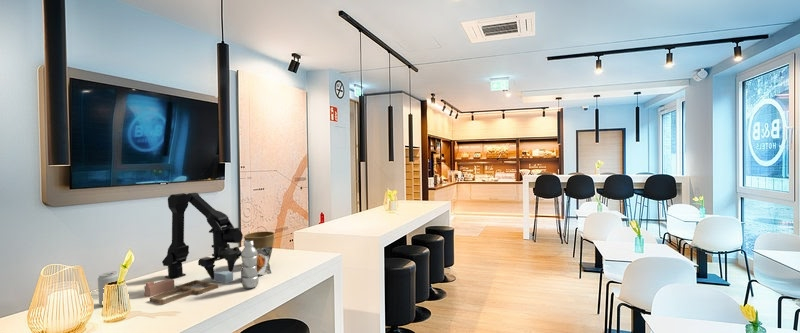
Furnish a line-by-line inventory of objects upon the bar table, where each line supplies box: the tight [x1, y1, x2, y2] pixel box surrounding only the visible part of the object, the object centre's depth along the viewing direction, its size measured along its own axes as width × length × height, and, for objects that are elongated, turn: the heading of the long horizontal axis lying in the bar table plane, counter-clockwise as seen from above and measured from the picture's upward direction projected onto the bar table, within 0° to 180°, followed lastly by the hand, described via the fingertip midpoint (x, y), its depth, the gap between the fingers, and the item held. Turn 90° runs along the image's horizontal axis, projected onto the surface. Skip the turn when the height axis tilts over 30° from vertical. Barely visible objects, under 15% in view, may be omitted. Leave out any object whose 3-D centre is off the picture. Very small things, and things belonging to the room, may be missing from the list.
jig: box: [149, 279, 219, 305], centre depth 156 cm, size 15×22×2 cm
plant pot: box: [243, 230, 275, 264], centre depth 195 cm, size 15×15×16 cm
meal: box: [240, 247, 273, 282], centre depth 173 cm, size 15×4×13 cm, turn 152°
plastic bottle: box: [240, 240, 260, 289], centre depth 160 cm, size 6×7×20 cm
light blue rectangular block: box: [210, 269, 234, 284], centre depth 172 cm, size 10×4×4 cm, turn 62°
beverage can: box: [97, 271, 119, 306], centre depth 147 cm, size 6×6×12 cm
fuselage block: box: [143, 278, 176, 298], centre depth 159 cm, size 4×10×6 cm, turn 153°
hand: (221, 276), depth 172 cm, fingers open, 9 cm apart
